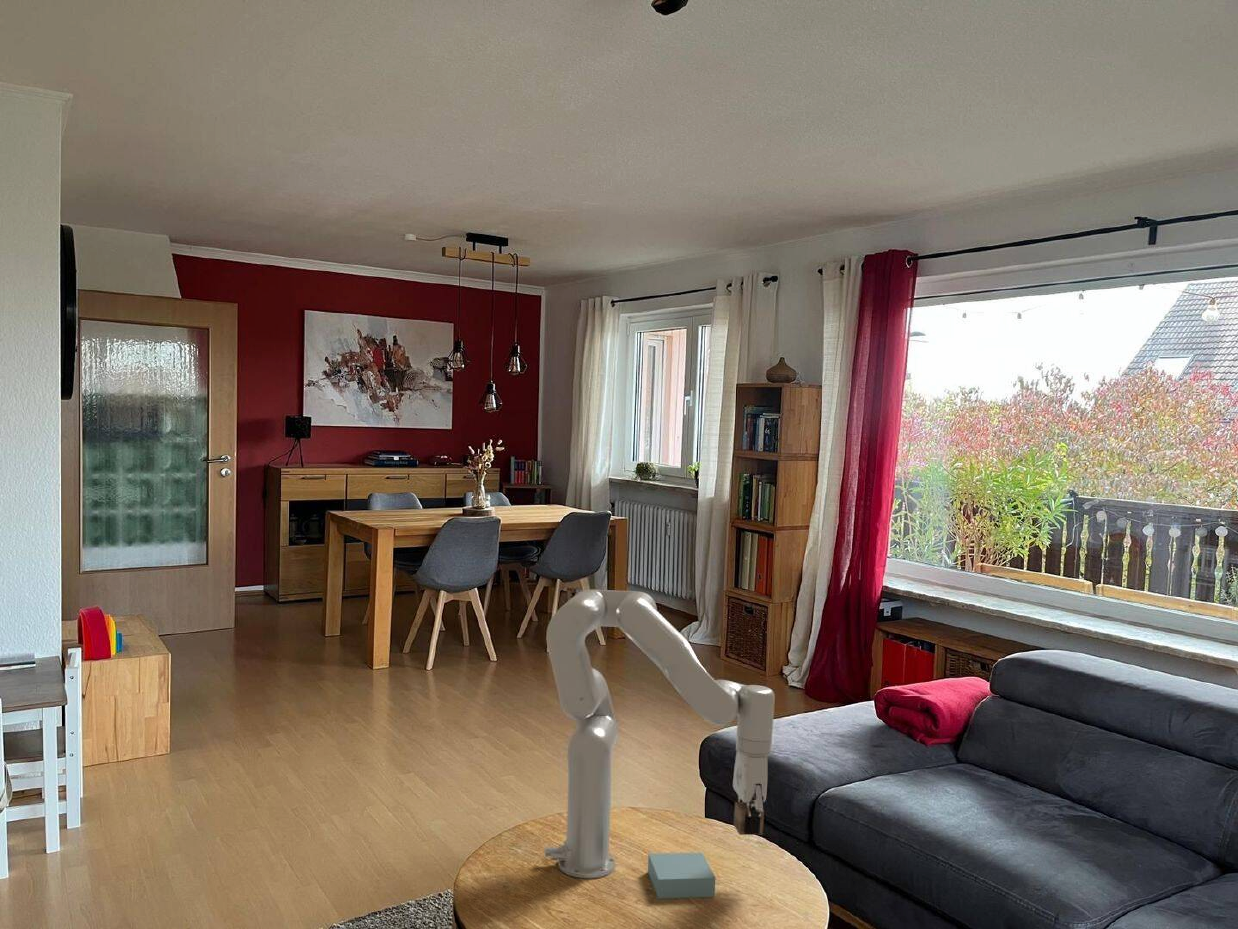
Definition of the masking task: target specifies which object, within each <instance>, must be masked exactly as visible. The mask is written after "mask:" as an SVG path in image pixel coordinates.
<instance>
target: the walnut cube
mask: <svg viewBox="0 0 1238 929" xmlns="http://www.w3.org/2000/svg"><path fill="white" fill-rule="evenodd" d="M753 806H755V804H751V808H752V807H753ZM745 815H747V802H746V803H744V802H738V801H734V813H733V827H734V828H735V829H736V831H737V832H738V834H739V835H742V836H743V835H744V836H745V835H748V836H750V835H751V836H752V835H753V836H754V835H755V836H756V835H758V836H759V835H761V836H763V834H764V833H763V830H764V820H765V819H764V817H765V816H764V815H765V811H764V808H763V809H762V811H761V818H760V832H759V834H745V833H744V828H745Z"/></svg>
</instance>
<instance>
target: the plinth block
mask: <svg viewBox="0 0 1238 929" xmlns="http://www.w3.org/2000/svg"><path fill="white" fill-rule="evenodd" d="M647 861H648V862H647V873H648V874H647V875H648V876H649V879H650V881H651V883H652V884H651V885H652V887H653V889H654V891H655V894H656V897H657V899H658V900H659V899H661V900H662V899H681V898H682V899H688V898H693V899H694V898H695V899H696V898H715V897H716V896H715V895H716V876H715V875H714V872H713V870H712V868H711V867H710V865H709V863H708V861H707V858H706V857H705V855H704V853H703V852H672V853H671V852H670V853H665V852H664V853H648V860H647Z"/></svg>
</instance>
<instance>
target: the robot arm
mask: <svg viewBox="0 0 1238 929" xmlns="http://www.w3.org/2000/svg"><path fill="white" fill-rule="evenodd" d="M597 627H608V628H611V627H612V628H619V630H621V632H622V633H623V634H625V636H627V638H628V639H630V640H631V642H632V643H634V644H635V645H636V646H637V647H638V649H640V651H642V652H643V654H645V655H646V656H647V657H648V658H649V659H650V661H651V662H653V663H654V664H655V665H656V666H657V667H658V668H659V669H660V670H661V672H662V673H663V675H664V676H665V677H666V678H667V680H668V681H669V682H670V684H671V685H672V686H673V687H674V688H675V690H676V691H677V692H678V694H680V696H681V697H682V698H683V699H684V701H685V702H686V703H687V704H689V705H690V706H691V707H692V709H694V710H695V711H696V712H697V713H698V715H700V716H701V717H702V718H703V719H704V720H705V721H706V722H708V723H709V724H712V725H715V726H717V727H718V726H719V727H721V726H727V725H729V724H731V723H732V722H733V721H734V720H735V719H736V717H737V728H736V739H735V740H736V742H735V751H736V754H735V760H734V761H735V762H734V769H733V779H732V788H733V790H734V791H735V792H736V794H737V796H738V797H737V802H744V803H746V802H747V815H745V828H744V833H745V834H759V832H760V818H761V811H762V809H763V810H764V804H763V803H766V802H765V801H766V799H767V792H768V791H767V790H768V766H769V765H768V756H770V755H771V753H772V744H773V743H772V741H773V727H774V717H775V716H774V714H775V700H776V699H775V698H776V696H775V692H774V691H773V689H771V688H769V687H767V686H763V685H757V684H749V685H746V684H742V683H739V682H734V681H731V680H728V679H727V680H726V679H716V680H715V679H714V678H713V677H712V676H711V675H710V674H709V672H707V670H706V669H705V667H703V665H702V664H701V663H700V661H699V659H698V658H697V656H696V654H695V652H694V649H693V648H692V646H691V643H690V642H689V641H688V640H687V638H686V637H685V636H684V635H683V634H682V633H680V631H678V630H677V628H675V627H674V626H673V625H672V624H671V623H670V622H669V621H668V620H667V619H666V618H665V617H664V616H663V615H662V614H661V613H660V612H659V611H658V608H657V605H656V601H655V599H654V598H653V597H652V596H651V595H650V594H648V593H646V592H643V591H637V590H618V589H617V590H613V589H612V590H611V589H610V590H609V589H585V590H582V591H579V592H578V593H577V594H575V595H574V596H573V597H572V598H570V599H568V601H567V602H565V603H564V604H563V605H562V606H561V607H560V608H558V610H557V611H556V612H555V613H554V614H553V616H552V617H551V619H550V620H549V623H548V625H547V629H546V636H545V637H546V638H545V639H546V647H547V651H548V655H549V660H550V663H551V669H552V673H553V676H554V682H555V685H556V690H557V694H558V699H559V703H560V704H559V705H560V707H561V710H563V712H564V714H565V715H566V716H567V717H569V718H571V719H572V720H574V722H575V727H576V728H575V730H574V731H573V732H572V734H571V736H570V738H569V741H568V745H567V755H566V756H567V807H566V808H567V811H566V812H567V813H566V815H567V816H566V834H565V837H566V840H563V844H562V845H561V844H560V845H558V846H556V847H555V846H545V847H544V857H550V860H551V861H558V863H557V864H558V868H559V870H560V871H561V872H563V873H564V874H566V875H568V876H571V877H574V878H578V879H597V878H603V877H605V876H608V875H610V874H611V873H612V872H614V871H615V868H616V859H615V857H614V856H612V854H610V852H609V851H610V831H611V830H610V828H611V827H610V826H611V799H612V759H613V758H612V756H613V751H615V750H614V749H615V746H616V744H617V742H618V738H619V727H618V723H617V718H616V714H615V711H614V706H613V702H612V699H611V694H610V690H609V687H608V684H607V681H606V679H605V677H604V676H603V674H602V673H601V672H599V671H598V670H597V669H595V668H594V667H592V664H591V658H590V654H589V652H588V648H587V646H586V644H585V642H586V637H587V636H588V635H589V634H591V633H592V632H593V631H594V630H596V629H597ZM753 799H754V800H753ZM751 804H755V806H753V807H752V808H751Z"/></svg>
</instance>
